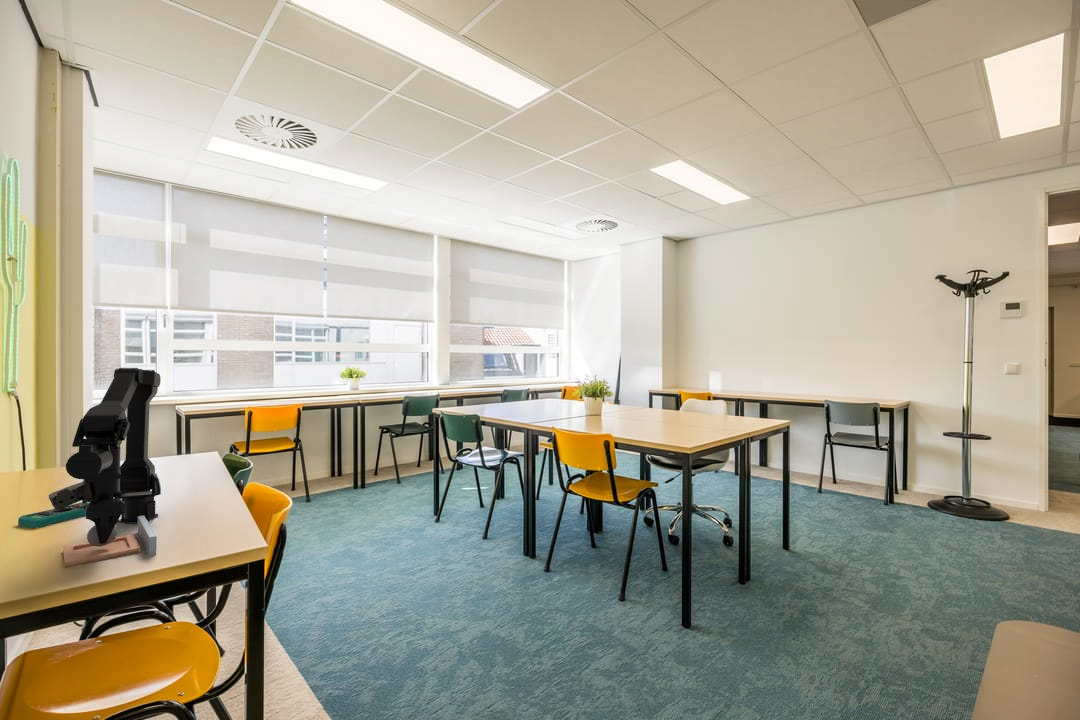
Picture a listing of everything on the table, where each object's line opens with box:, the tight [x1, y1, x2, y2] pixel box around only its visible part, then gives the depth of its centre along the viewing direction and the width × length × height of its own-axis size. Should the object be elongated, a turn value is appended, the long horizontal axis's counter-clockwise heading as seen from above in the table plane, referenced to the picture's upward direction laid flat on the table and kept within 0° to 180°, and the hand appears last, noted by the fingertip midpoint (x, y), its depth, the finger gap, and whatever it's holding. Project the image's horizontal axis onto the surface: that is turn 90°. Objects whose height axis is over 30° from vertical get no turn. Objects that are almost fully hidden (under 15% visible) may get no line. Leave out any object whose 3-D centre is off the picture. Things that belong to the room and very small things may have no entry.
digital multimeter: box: [17, 502, 88, 529], centre depth 132 cm, size 7×15×3 cm, turn 163°
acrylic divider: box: [137, 516, 158, 557], centre depth 115 cm, size 20×1×4 cm, turn 45°
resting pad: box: [62, 533, 141, 568], centre depth 110 cm, size 12×12×1 cm
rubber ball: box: [86, 525, 118, 547], centre depth 110 cm, size 5×5×5 cm
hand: (102, 540), depth 110 cm, fingers closed on rubber ball, 5 cm apart
